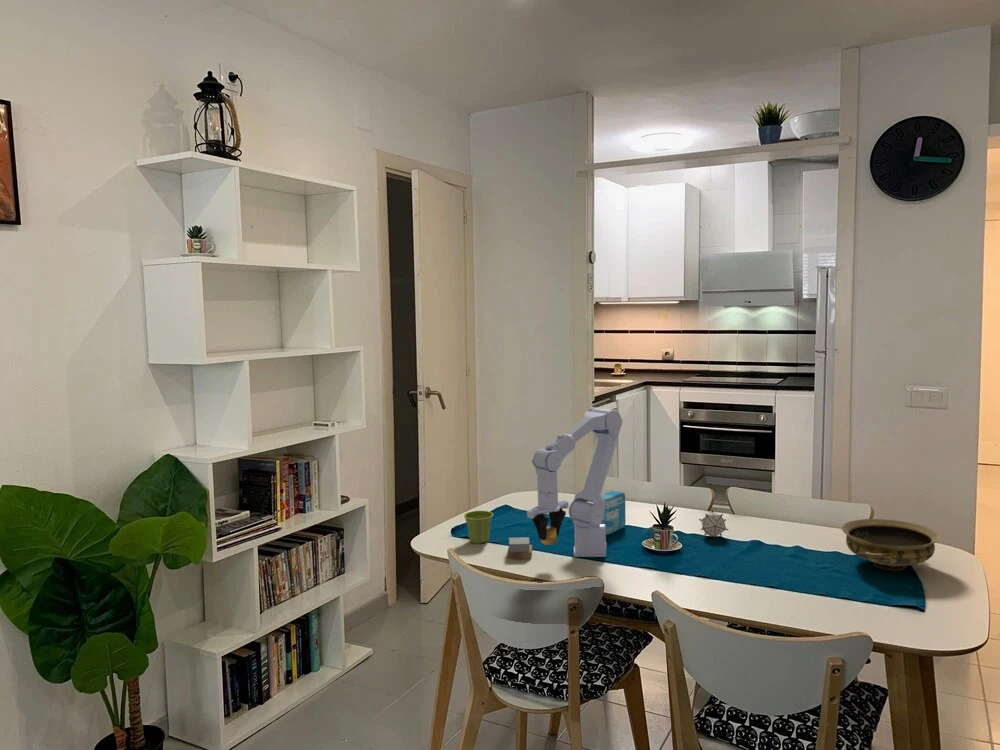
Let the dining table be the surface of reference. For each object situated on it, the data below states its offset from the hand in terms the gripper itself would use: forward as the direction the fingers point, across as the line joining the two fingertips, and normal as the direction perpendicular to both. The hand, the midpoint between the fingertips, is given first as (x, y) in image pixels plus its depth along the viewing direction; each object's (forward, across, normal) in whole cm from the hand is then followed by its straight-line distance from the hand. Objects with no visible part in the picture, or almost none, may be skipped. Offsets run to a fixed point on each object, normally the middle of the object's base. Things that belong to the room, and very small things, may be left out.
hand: (548, 537), depth 217 cm
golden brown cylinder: (+2, 0, 0) cm, 2 cm away
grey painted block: (+6, 0, +13) cm, 14 cm away
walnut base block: (+9, 0, +13) cm, 16 cm away
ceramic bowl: (+9, +67, -66) cm, 94 cm away
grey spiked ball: (+9, +54, -18) cm, 58 cm away
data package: (+9, +37, +10) cm, 39 cm away
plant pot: (+9, -1, +32) cm, 33 cm away
